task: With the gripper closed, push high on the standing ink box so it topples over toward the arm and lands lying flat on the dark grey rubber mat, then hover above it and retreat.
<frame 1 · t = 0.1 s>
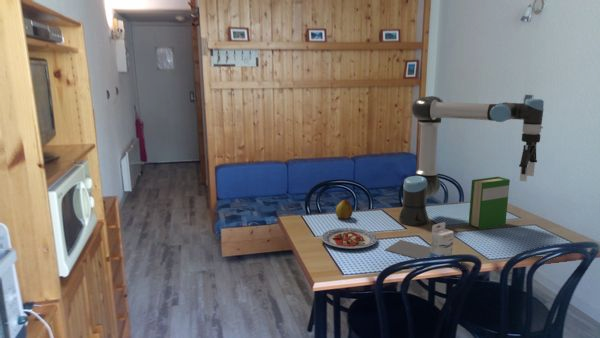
hand: (526, 178, 205), 28 cm above the table, fingers open, 13 cm apart
fruit: (343, 218, 238), on the table
ceramic plate: (348, 242, 205), on the table
mat: (412, 250, 193), on the table
hardback book: (486, 225, 225), on the table
ink box: (441, 258, 185), on the table
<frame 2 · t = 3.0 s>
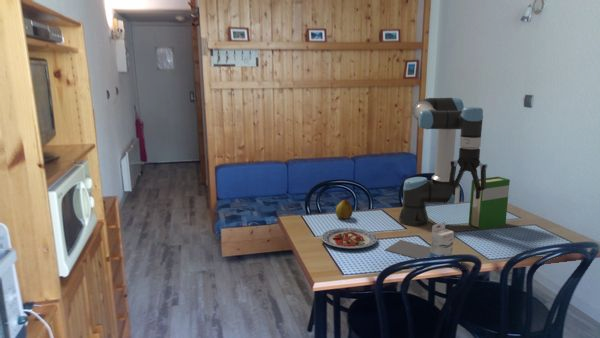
hand: (465, 204, 174), 25 cm above the table, fingers open, 6 cm apart
nothing on the table moved.
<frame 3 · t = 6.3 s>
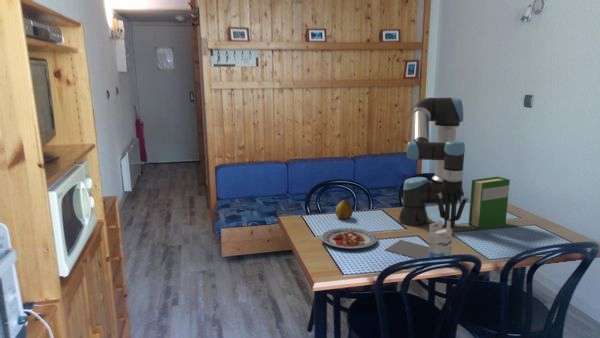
hand: (448, 235, 181), 11 cm above the table, fingers closed
ink box: (441, 257, 185), on the table, touching gripper
everything else where it was.
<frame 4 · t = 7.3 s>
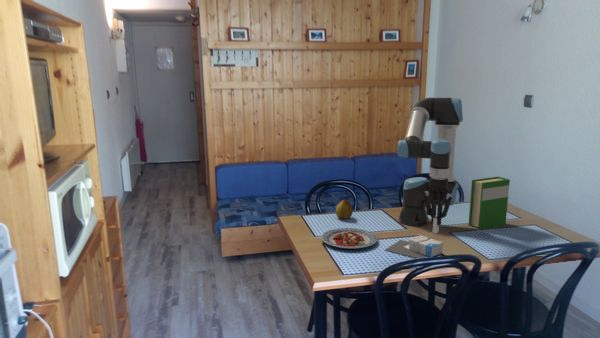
hand: (435, 232, 185), 11 cm above the table, fingers closed
ink box: (437, 249, 186), point 3 cm above the table, touching mat
everything else where it was.
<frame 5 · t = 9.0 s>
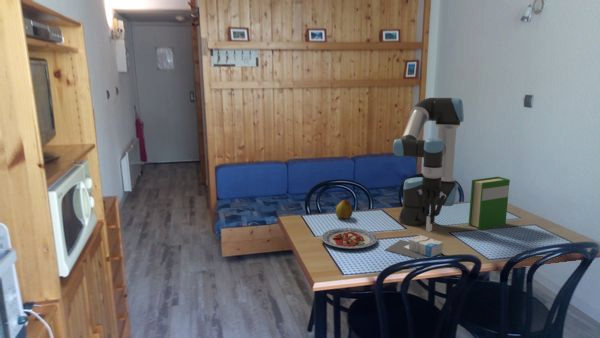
hand: (428, 230, 186), 11 cm above the table, fingers closed
nothing on the table moved.
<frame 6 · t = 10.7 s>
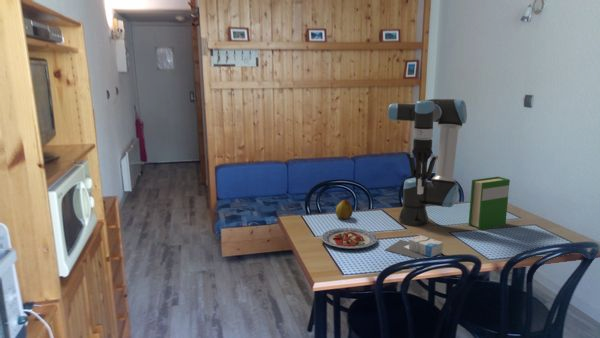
hand: (420, 193, 186), 26 cm above the table, fingers closed
nothing on the table moved.
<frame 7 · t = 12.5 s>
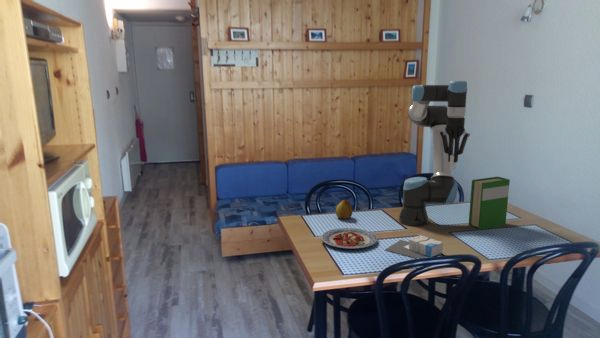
hand: (452, 169, 197), 34 cm above the table, fingers closed
nothing on the table moved.
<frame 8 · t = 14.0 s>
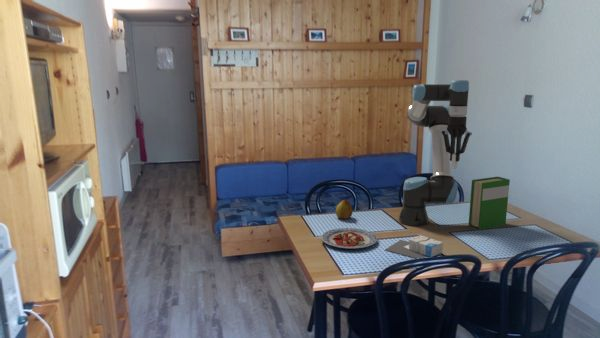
hand: (454, 168, 197), 34 cm above the table, fingers closed
nothing on the table moved.
at the end: ink box tilted 91°; ink box inside the target area (7.7 cm from its centre), point 2.9 cm above the table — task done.
